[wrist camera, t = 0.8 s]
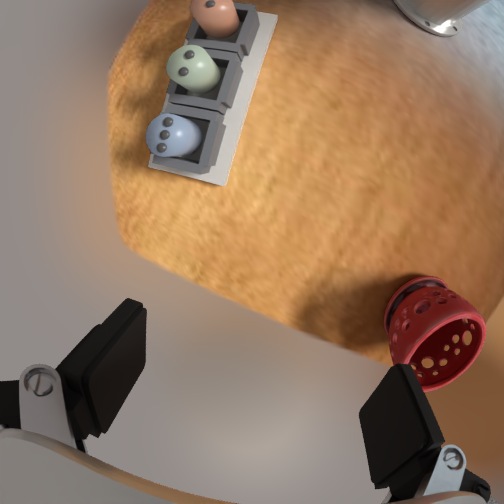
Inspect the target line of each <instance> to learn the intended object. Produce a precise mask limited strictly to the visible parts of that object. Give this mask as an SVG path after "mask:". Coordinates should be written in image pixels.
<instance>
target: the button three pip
mask: <svg viewBox="0 0 504 504" xmlns="http://www.w3.org/2000/svg"><path fill="white" fill-rule="evenodd" d="M201 142H202V132H201V129H200V127H199V126H198V125H197V124H196V123H195V122H193V121H191V120H188V119H186V118H183V117H180V116H177V115H174V114H169V113H167V114H162V115H159V116H157V117H156V118H155V119H153V120H152V121H151V123H150V124H149V126H148V128H147V131H146V143H147V146H148V148H149V149H150V151H151V152H152V153H154V154H155V155H157V156H161V157H170V156H188V155H191V154H192V153H194V152H195V151H196V150H197V149H198V148H199V146H200V144H201Z"/></svg>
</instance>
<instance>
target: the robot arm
mask: <svg viewBox="0 0 504 504" xmlns="http://www.w3.org/2000/svg"><path fill="white" fill-rule="evenodd" d="M489 1H491V0H394V2H395V3H396V5H397V6H398V7H399V9H400V10H401V11H402V12H403V13H404V14H405V15H406V16H407V17H408V18H409V19H411V20H412V21H413V22H414V23H416V24H417V25H418V26H420V27H421V28H423V29H425V30H426V31H428V32H431V33H433V34H435V35H438V36H443V37H451V36H454V35H456V34H458V33H459V32H460V31H461V29H462V26H463V20H462V18H463V17H464V16H466V15H467V14H469V13H471V12H472V11H474V10H476V9H477V8H479V7H481V6H482V5H484V4H486V3H488V2H489ZM146 317H147V310H146V308H143V304H142V303H141V302H138V301H135V300H132V299H130V298H127V299H125V300H124V301H123V302H122V303H121V304H120V305H119V306H118V307H117V308H116V309H115V311H113V313H112V314H111V315H110V316H109V317H108V318H107V319H106V320H105V321H104V322H103V323H102V324H101V325H100V324H98V325H96V326H95V327H94V328H93V329H92V330H91V331H90V332H89V333H88V334H87V335H86V336H85V337H84V338H83V339H82V340H81V341H80V342H79V344H78V345H77V346H76V347H75V348H74V349H73V350H72V351H71V352H70V353H69V355H67V357H66V358H65V359H64V360H63V361H62V362H61V363H60V364H59V365H58V367H57V368H56V369H53V368H52V367H50V366H48V365H44V364H36V365H32V366H29V367H28V368H26V369H25V370H24V371H23V372H22V374H21V376H20V380H14V381H0V504H237V503H231V502H225V501H220V500H215V499H211V498H206V497H202V496H198V495H194V494H190V493H186V492H183V491H179V490H176V489H173V488H169V487H166V486H163V485H160V484H157V483H154V482H151V481H149V480H146V479H143V478H141V477H138V476H135V475H133V474H130V473H128V472H125V471H123V470H120V469H118V468H116V467H113V466H111V465H109V464H107V463H105V462H103V461H101V460H99V459H96V458H94V457H92V456H90V455H88V452H87V449H86V445H85V442H84V440H85V439H86V438H87V437H88V435H89V434H91V435H93V436H95V437H97V438H98V437H99V436H100V434H101V432H102V433H104V434H105V433H106V432H107V431H108V429H109V427H110V426H111V424H112V422H113V420H114V419H115V417H116V415H117V414H118V412H119V410H120V408H121V407H122V405H123V403H124V401H125V399H126V398H127V396H128V394H129V393H130V391H131V389H132V388H133V386H134V384H135V382H136V381H137V379H138V377H139V376H140V374H141V372H142V371H143V369H144V366H145V362H146ZM359 419H360V424H361V428H362V433H363V438H364V443H365V448H366V453H367V459H368V465H369V470H370V476H371V481H372V482H373V483H374V485H375V489H382V488H387V487H388V486H389V488H390V491H389V492H388V494H387V496H386V497H385V499H384V500H383V502H382V503H381V504H498V503H497V501H496V500H495V499H494V498H493V497H492V496H491V497H490V494H491V492H490V486H489V484H488V483H487V482H486V481H485V480H483V479H481V478H480V477H478V476H477V475H475V474H473V473H472V472H470V471H468V470H467V469H465V467H466V457H465V455H464V453H463V452H462V450H461V449H460V448H458V447H457V446H455V445H446V446H444V447H443V448H442V449H441V445H442V444H443V443H444V442H445V440H444V437H443V435H442V432H441V430H440V427H439V425H438V423H437V420H436V418H435V416H434V414H433V411H432V409H431V406H430V404H429V402H428V400H427V398H426V396H425V393H424V391H423V389H422V387H421V385H420V383H419V381H418V379H417V377H416V375H415V373H414V371H413V369H412V367H411V365H409V364H402V363H397V364H395V365H394V366H392V367H391V368H390V369H389V371H388V372H387V374H386V375H385V377H384V378H383V379H382V381H381V382H380V384H379V385H378V387H377V388H376V390H375V391H374V392H373V393H372V395H371V396H370V397H369V399H368V400H367V401H366V403H365V404H364V405H363V407H362V408H361V409H360V412H359Z"/></svg>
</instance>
